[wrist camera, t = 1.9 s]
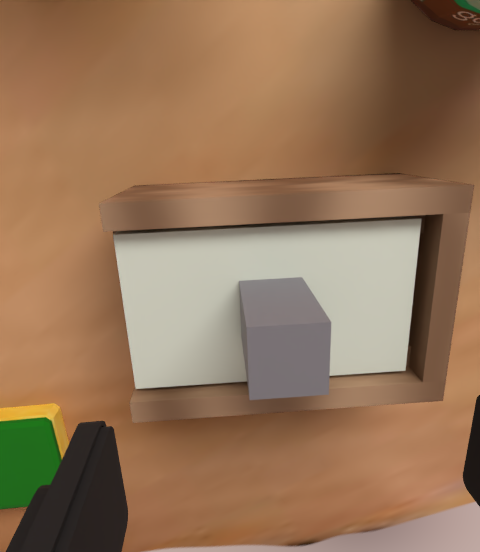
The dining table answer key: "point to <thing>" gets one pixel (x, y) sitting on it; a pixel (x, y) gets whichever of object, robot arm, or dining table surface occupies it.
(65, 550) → the robot arm
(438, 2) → the food container
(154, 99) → the dining table surface
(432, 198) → the slide box
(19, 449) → the dish sponge
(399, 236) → the cover plate
